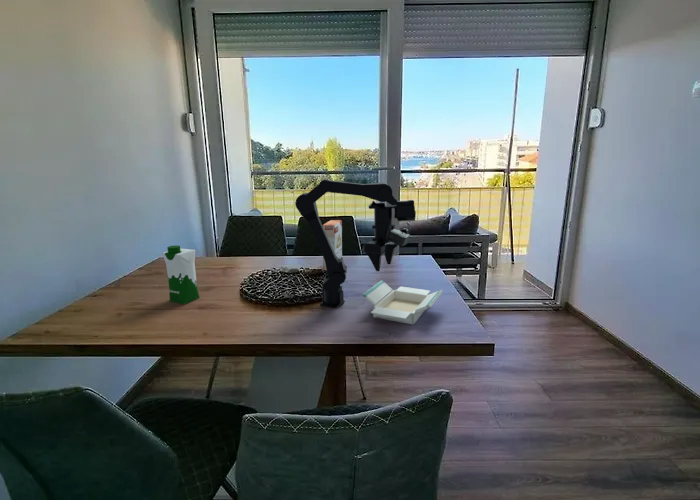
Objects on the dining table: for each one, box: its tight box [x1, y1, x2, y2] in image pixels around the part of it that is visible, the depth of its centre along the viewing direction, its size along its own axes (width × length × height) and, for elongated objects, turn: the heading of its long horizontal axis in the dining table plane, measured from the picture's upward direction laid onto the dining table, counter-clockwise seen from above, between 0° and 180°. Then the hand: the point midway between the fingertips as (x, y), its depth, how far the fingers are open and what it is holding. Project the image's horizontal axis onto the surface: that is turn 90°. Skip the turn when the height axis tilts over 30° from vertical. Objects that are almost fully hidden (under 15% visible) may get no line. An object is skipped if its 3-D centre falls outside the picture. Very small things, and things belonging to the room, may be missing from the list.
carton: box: [370, 286, 431, 325], centre depth 128 cm, size 13×26×4 cm, turn 153°
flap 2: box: [415, 289, 444, 312], centre depth 123 cm, size 1×15×5 cm
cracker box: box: [322, 219, 343, 272], centre depth 177 cm, size 14×6×21 cm, turn 168°
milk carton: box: [162, 245, 200, 305], centre depth 139 cm, size 9×9×20 cm
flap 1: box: [362, 280, 394, 306], centre depth 131 cm, size 1×15×5 cm
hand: (383, 267), depth 132 cm, fingers open, 9 cm apart
